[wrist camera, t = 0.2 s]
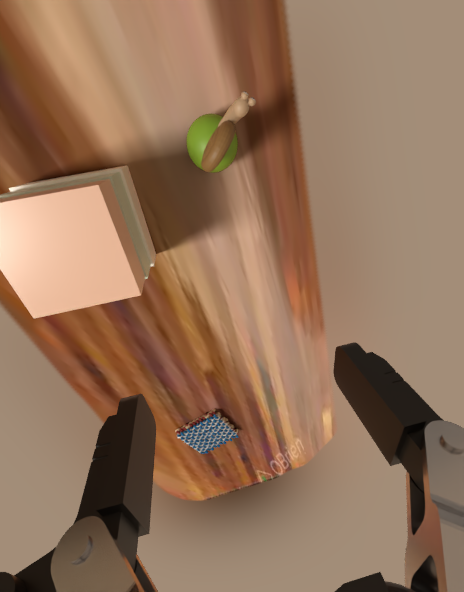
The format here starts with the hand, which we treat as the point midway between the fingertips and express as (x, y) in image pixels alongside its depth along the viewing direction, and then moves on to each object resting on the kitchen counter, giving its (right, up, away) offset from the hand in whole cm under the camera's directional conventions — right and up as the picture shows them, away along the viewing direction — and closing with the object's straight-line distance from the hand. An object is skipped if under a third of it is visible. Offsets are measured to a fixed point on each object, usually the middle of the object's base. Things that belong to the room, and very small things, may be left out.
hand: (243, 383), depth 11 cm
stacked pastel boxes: (-17, +13, +22) cm, 30 cm away
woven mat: (-6, -25, +47) cm, 54 cm away
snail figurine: (-3, +22, +20) cm, 29 cm away
